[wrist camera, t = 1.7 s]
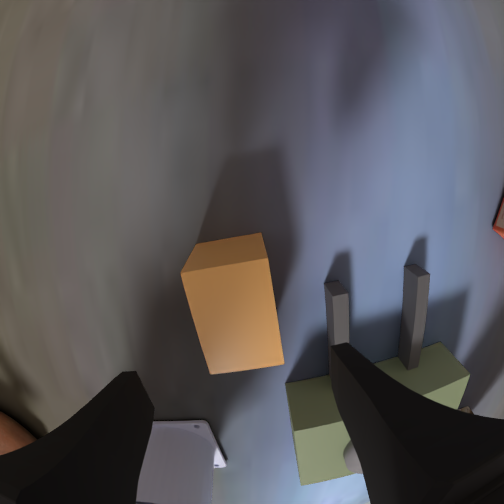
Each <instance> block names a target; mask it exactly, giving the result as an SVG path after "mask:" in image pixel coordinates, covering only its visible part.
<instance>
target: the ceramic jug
mask: <svg viewBox="0 0 504 504" xmlns="http://www.w3.org/2000/svg"><path fill="white" fill-rule="evenodd" d="M36 440H37V439H36V438H35V437H34V436H33V435H32V434H31V433H30V432H29V431H27V430H26V429H25V428H24V427H23V426H21V425H20V424H19V423H18V422H16V421H15V420H14V419H12V418H11V417H9V416H7V415H6V414H4V413H2V412H0V455H3V454H6V453H9V452H12V451H14V450H17V449H19V448H22V447H24V446H26V445H28V444H30V443H32V442H34V441H36Z"/></svg>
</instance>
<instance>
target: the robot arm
mask: <svg viewBox="0 0 504 504" xmlns="http://www.w3.org/2000/svg"><path fill="white" fill-rule="evenodd" d="M330 349H331V387H332V390H333V394H334V398H335V401H336V405H337V408H338V411H339V413H340V416H341V418H342V420H343V423H344V425H345V427H346V430H347V432H348V434H349V437H350V439H351V442H352V444H353V446H354V449H355V451H356V453H357V456H358V459H359V461H360V464H361V468H362V472H363V475H364V479H365V483H366V486H367V491H368V495H369V499H370V503H371V504H504V419H496V418H489V417H483V416H479V415H475V414H471V413H467V412H463V411H460V410H457V409H454V408H451V407H448V406H445V405H443V404H440V403H438V402H435V401H433V400H431V399H428V398H426V397H424V396H422V395H420V394H419V393H417V392H415V391H413V390H411V389H409V388H408V387H406V386H404V385H403V384H401V383H400V382H398V381H396V380H395V379H393V378H392V377H391V376H389V375H388V374H386V373H385V372H384V371H382V370H381V369H380V368H378V367H377V366H375V365H374V364H373V363H372V362H370V361H369V360H368V359H367V358H365V357H364V356H363V355H362V354H361V353H359V352H358V351H357V350H356V349H355V348H354V347H352V346H351V345H350V344H349V343H347V342H345V343H341V344H337V345H332V346H330ZM153 416H154V406H153V404H152V402H151V400H150V398H149V397H148V395H147V393H146V391H145V389H144V387H143V385H142V383H141V381H140V378H139V376H138V374H137V372H136V371H128V372H122V373H120V374H119V375H118V376H117V377H115V378H114V379H113V380H112V381H111V382H110V383H109V384H108V385H107V386H106V387H105V388H104V389H102V390H101V391H100V392H99V393H98V394H97V395H96V396H95V397H94V398H93V399H92V400H91V401H89V402H88V403H87V404H86V405H85V406H84V407H83V408H81V409H80V410H79V411H78V412H77V413H76V414H74V415H73V416H72V417H71V418H70V419H68V420H67V421H66V422H64V423H63V424H62V425H60V426H59V427H57V428H56V429H54V430H53V431H51V432H50V433H48V434H47V435H45V436H43V437H41V438H40V439H38V440H36V441H34V442H32V443H30V444H28V445H26V446H24V447H22V448H19V449H17V450H14V451H12V452H9V453H6V454H3V455H0V504H212V487H213V471H214V468H220V467H226V461H225V459H224V457H223V454H222V452H221V450H220V448H219V446H218V444H217V442H216V439H215V437H214V435H213V433H212V431H211V428H210V426H209V424H208V422H207V421H205V420H192V421H153Z"/></svg>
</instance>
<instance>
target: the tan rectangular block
mask: <svg viewBox="0 0 504 504" xmlns="http://www.w3.org/2000/svg"><path fill="white" fill-rule="evenodd" d="M180 274H181V277H182V281H183V285H184V289H185V292H186V296H187V299H188V303H189V307H190V310H191V313H192V317H193V320H194V324H195V327H196V330H197V334H198V337H199V340H200V343H201V347H202V350H203V353H204V356H205V359H206V362H207V365H208V368H209V371H210V374H220V373H228V372H236V371H244V370H251V369H258V368H264V367H270V366H276V365H282V364H284V358H283V351H282V345H281V338H280V332H279V325H278V318H277V312H276V306H275V299H274V293H273V286H272V280H271V274H270V268H269V261H268V256H267V253H266V249H265V245H264V241H263V237H262V234H261V233H255V234H249V235H244V236H238V237H232V238H227V239H221V240H215V241H210V242H204V243H199V244H196V245H195V247H194V249H193V250H192V252H191V254H190V256H189V258H188V260H187V261H186V263H185V265H184V267H183V269H182V271H181V273H180Z"/></svg>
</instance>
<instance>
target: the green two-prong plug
mask: <svg viewBox="0 0 504 504" xmlns="http://www.w3.org/2000/svg"><path fill="white" fill-rule="evenodd" d="M429 282H430V274H429V273H428V272H426V271H425V270H424V269H422V268H421V267H419V266H418V265H416V264H413V265H409V266H404V285H403V305H402V319H401V330H400V340H399V349H398V356H397V357H394V358H391V359H387V360H384V361H381V362H377V363H374V365H375V366H377V367H378V368H380V369H381V370H382V371H384V372H385V373H386V374H388V375H389V376H391V377H392V378H393V379H395V380H396V381H398V382H400V383H401V384H403V385H404V386H406V387H408V388H409V389H411V390H413V391H415V392H417V393H419V394H420V395H422V396H424V397H426V398H428V399H431V400H433V401H435V402H438V403H440V404H443V405H445V406H448V407H451V408H454V409H458V406H459V404H460V401H461V399H462V396H463V394H464V391H465V388H466V385H467V383H468V380H469V377H470V373H469V372H468V371H467V370H466V369H465V368H464V367H463V366H462V365H461V363H460V362H459V361H458V360H457V359H456V358H455V357H454V356H453V355H452V354H451V353H450V351H449V350H448V349H447V348H446V347H445V346H444V345H443V344H442V343H441V342H438V343H436V344H433V345H430V346H427V347H424V348H422V343H423V336H424V329H425V322H426V314H427V305H428V294H429ZM324 288H325V301H326V316H327V334H328V356H329V375H326V376H321V377H316V378H311V379H306V380H301V381H296V382H291V383H285V386H286V393H287V400H288V406H289V413H290V420H291V427H292V434H293V441H294V448H295V453H296V459H297V465H298V471H299V477H300V483H301V486H302V485H308V484H313V483H318V482H323V481H327V480H331V479H336V478H340V477H344V476H348V475H351V474H355V473H360V474H363V472H362V468H361V464H360V461H359V459H358V456H357V453H356V451H355V449H354V446H353V444H352V442H351V439H350V437H349V434H348V432H347V430H346V427H345V425H344V423H343V420H342V418H341V416H340V413H339V411H338V408H337V405H336V401H335V398H334V394H333V390H332V387H331V349H330V346H332V345H337V344H341V343H345V342H347V343H349V299H348V292H347V291H346V289H345V288H344V287H343V286H342V284H341V283H340V282H339V280H338V281H333V282H328V283H324Z"/></svg>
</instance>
